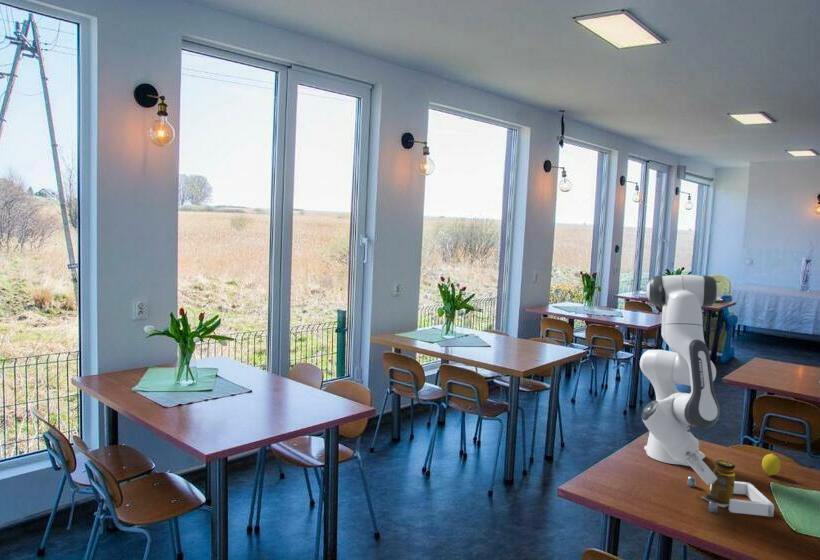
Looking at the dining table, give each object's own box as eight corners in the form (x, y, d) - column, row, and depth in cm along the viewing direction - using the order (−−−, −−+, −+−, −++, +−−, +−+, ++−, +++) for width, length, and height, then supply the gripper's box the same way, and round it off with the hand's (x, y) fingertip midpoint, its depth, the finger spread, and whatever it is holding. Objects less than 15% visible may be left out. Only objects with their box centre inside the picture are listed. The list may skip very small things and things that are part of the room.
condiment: (737, 502, 187) (742, 465, 186) (723, 508, 182) (727, 469, 181) (715, 492, 193) (719, 456, 192) (700, 498, 188) (704, 461, 187)
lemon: (774, 473, 213) (776, 451, 212) (782, 479, 207) (784, 457, 207) (757, 471, 213) (760, 449, 213) (765, 478, 208) (767, 455, 207)
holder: (730, 512, 180) (731, 501, 179) (709, 489, 196) (711, 478, 195) (773, 516, 179) (774, 505, 178) (748, 493, 194) (749, 482, 194)
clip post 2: (710, 509, 181) (712, 499, 181) (718, 512, 179) (719, 502, 179) (706, 510, 180) (707, 501, 179) (714, 514, 178) (715, 504, 177)
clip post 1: (689, 483, 199) (690, 475, 199) (696, 486, 197) (697, 477, 197) (685, 485, 197) (686, 476, 197) (692, 488, 195) (693, 479, 195)
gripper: (702, 453, 177) (734, 489, 177) (679, 430, 197) (707, 462, 197) (685, 466, 178) (716, 502, 178) (664, 442, 198) (692, 474, 198)
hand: (711, 481), depth 187 cm, fingers closed, pressing on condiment
